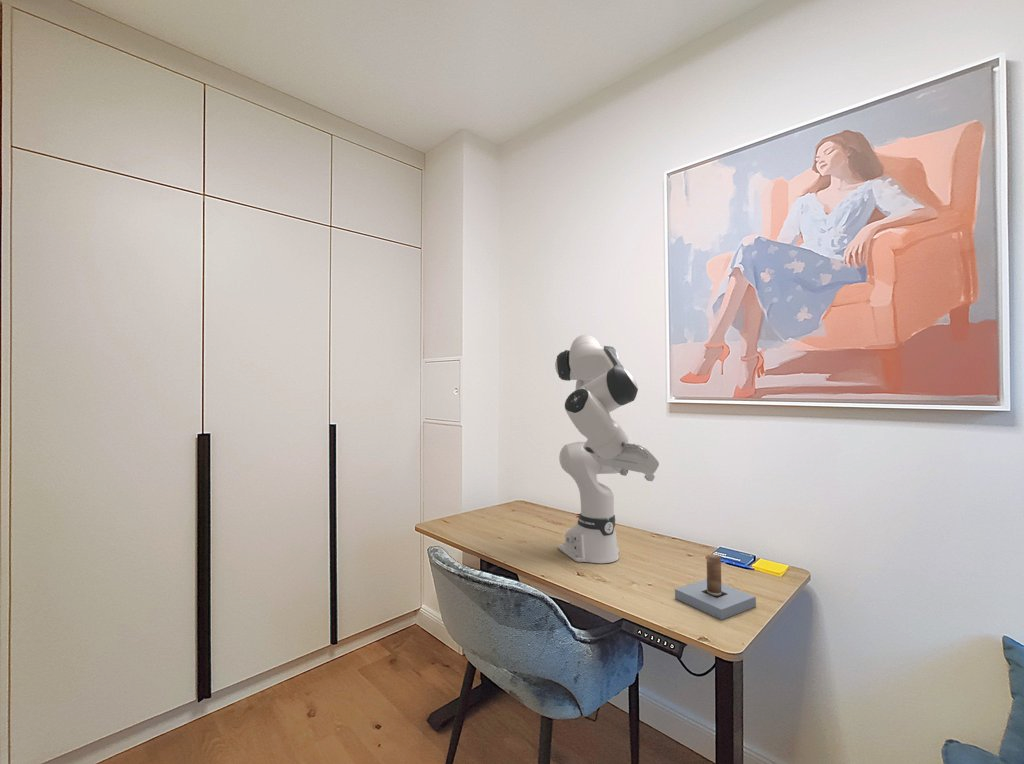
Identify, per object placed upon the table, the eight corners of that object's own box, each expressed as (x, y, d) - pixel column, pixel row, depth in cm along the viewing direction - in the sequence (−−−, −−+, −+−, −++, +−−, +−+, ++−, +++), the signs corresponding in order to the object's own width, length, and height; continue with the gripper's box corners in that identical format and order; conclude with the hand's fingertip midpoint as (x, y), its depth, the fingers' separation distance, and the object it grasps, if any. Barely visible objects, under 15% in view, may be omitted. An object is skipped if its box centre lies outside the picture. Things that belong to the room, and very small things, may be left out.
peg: (704, 601, 123) (703, 555, 123) (712, 598, 124) (712, 553, 125) (716, 606, 119) (715, 559, 120) (724, 603, 121) (724, 557, 122)
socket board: (675, 598, 124) (674, 588, 124) (708, 587, 131) (708, 578, 132) (721, 619, 112) (721, 609, 112) (755, 606, 119) (755, 596, 119)
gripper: (646, 435, 111) (674, 472, 116) (591, 430, 129) (617, 462, 134) (633, 455, 109) (662, 492, 114) (578, 447, 127) (606, 479, 131)
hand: (637, 476), depth 124 cm, fingers open, 8 cm apart
